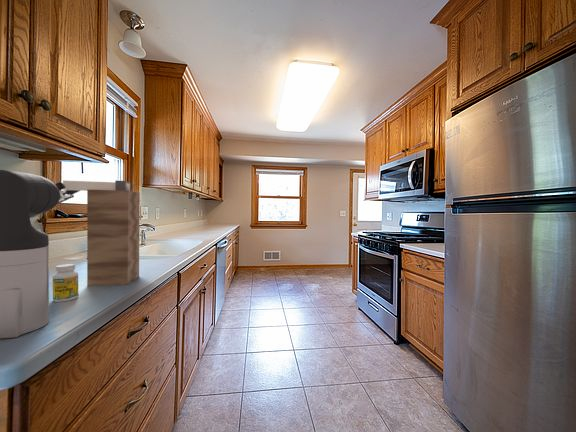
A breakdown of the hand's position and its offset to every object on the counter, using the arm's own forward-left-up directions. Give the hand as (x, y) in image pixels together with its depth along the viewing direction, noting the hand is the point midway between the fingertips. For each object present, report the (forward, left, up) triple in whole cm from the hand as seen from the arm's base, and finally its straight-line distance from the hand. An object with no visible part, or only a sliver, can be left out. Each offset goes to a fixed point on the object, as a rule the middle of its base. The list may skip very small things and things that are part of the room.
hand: (72, 185), depth 83 cm
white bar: (0, -8, -1) cm, 8 cm away
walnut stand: (0, -13, -33) cm, 36 cm away
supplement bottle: (-17, -8, -34) cm, 39 cm away
